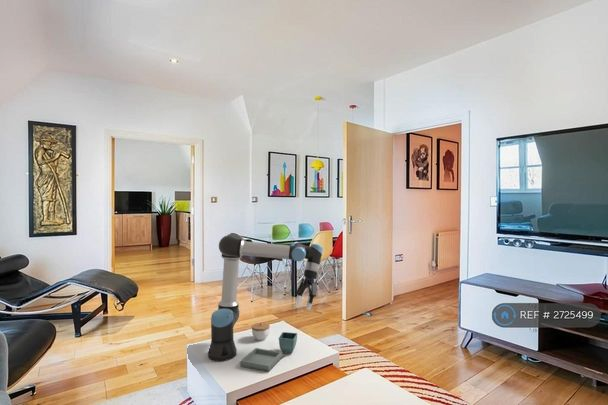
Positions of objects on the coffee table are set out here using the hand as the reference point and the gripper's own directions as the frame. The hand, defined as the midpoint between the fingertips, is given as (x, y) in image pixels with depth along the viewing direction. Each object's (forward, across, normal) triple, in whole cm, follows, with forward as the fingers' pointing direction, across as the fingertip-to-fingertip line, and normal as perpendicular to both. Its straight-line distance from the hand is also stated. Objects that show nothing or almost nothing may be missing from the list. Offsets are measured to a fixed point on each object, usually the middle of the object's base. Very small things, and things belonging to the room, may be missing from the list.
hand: (302, 308), depth 183 cm
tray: (+31, +3, +14) cm, 34 cm away
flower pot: (+24, +7, -2) cm, 25 cm away
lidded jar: (+23, +31, +6) cm, 39 cm away
